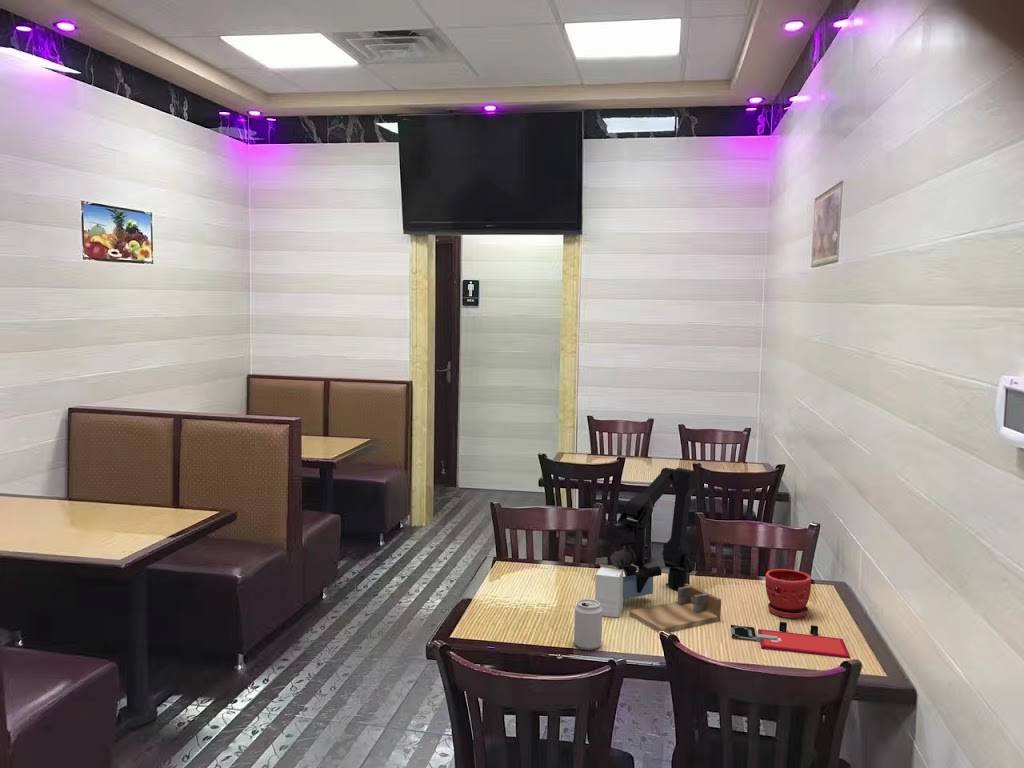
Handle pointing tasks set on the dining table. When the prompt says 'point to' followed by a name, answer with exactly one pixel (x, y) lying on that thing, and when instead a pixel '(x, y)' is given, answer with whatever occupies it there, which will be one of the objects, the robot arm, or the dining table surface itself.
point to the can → (588, 624)
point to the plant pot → (788, 592)
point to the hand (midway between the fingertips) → (634, 590)
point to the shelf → (681, 611)
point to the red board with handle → (794, 641)
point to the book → (631, 587)
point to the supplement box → (609, 591)
